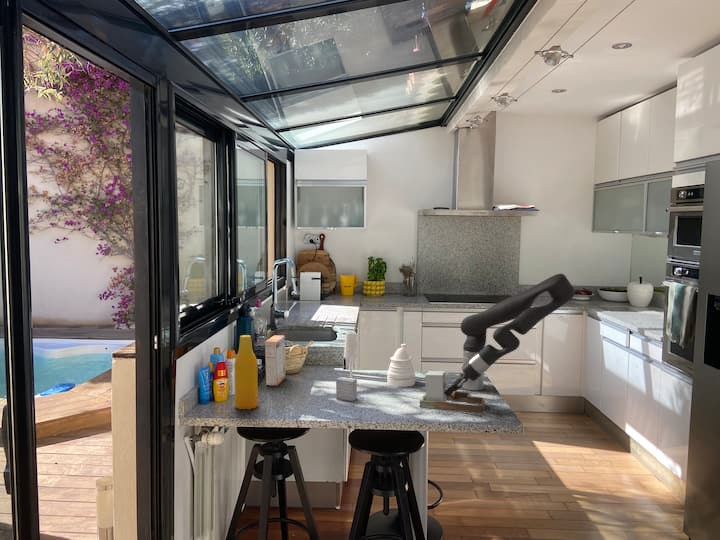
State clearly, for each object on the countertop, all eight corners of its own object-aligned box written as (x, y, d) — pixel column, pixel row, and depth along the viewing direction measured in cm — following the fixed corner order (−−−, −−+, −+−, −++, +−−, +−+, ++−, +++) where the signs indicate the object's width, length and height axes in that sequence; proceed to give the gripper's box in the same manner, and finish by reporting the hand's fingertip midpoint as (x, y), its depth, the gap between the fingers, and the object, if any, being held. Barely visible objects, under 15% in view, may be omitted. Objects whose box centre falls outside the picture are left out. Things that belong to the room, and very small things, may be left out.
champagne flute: (360, 385, 256) (360, 333, 254) (345, 386, 254) (345, 334, 252) (355, 381, 263) (355, 331, 261) (342, 382, 261) (342, 331, 259)
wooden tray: (427, 394, 242) (427, 388, 242) (485, 399, 235) (485, 393, 235) (419, 406, 226) (419, 400, 225) (482, 412, 219) (482, 406, 218)
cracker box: (273, 377, 269) (273, 334, 267) (285, 378, 268) (285, 335, 266) (264, 385, 255) (264, 340, 253) (277, 386, 254) (277, 341, 253)
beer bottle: (250, 411, 220) (249, 339, 218) (230, 408, 223) (229, 337, 221) (262, 404, 229) (261, 334, 227) (242, 401, 232) (241, 333, 230)
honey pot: (396, 377, 269) (396, 341, 267) (419, 382, 261) (420, 344, 260) (381, 383, 258) (382, 345, 257) (405, 388, 251) (405, 349, 249)
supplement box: (444, 406, 225) (442, 375, 224) (426, 405, 227) (424, 374, 227) (447, 400, 232) (445, 370, 231) (429, 400, 234) (428, 370, 234)
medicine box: (357, 398, 236) (357, 378, 236) (352, 401, 232) (352, 381, 232) (340, 396, 240) (340, 376, 239) (335, 399, 236) (335, 379, 235)
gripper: (481, 377, 216) (450, 406, 221) (484, 369, 229) (454, 396, 234) (467, 363, 218) (436, 392, 222) (471, 356, 230) (441, 383, 235)
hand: (445, 394), depth 228 cm, fingers closed
